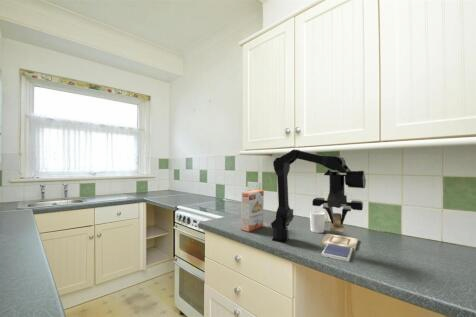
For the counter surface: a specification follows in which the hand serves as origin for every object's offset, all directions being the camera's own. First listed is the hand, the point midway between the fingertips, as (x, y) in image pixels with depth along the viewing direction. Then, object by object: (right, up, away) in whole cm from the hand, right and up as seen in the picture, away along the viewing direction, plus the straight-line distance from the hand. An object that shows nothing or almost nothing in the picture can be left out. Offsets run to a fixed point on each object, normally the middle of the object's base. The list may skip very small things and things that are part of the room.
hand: (337, 224), depth 95 cm
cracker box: (-33, -12, +34) cm, 49 cm away
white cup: (+2, -12, +29) cm, 32 cm away
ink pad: (0, -12, 0) cm, 12 cm away
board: (+7, -12, +12) cm, 18 cm away
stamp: (0, -3, 0) cm, 2 cm away
